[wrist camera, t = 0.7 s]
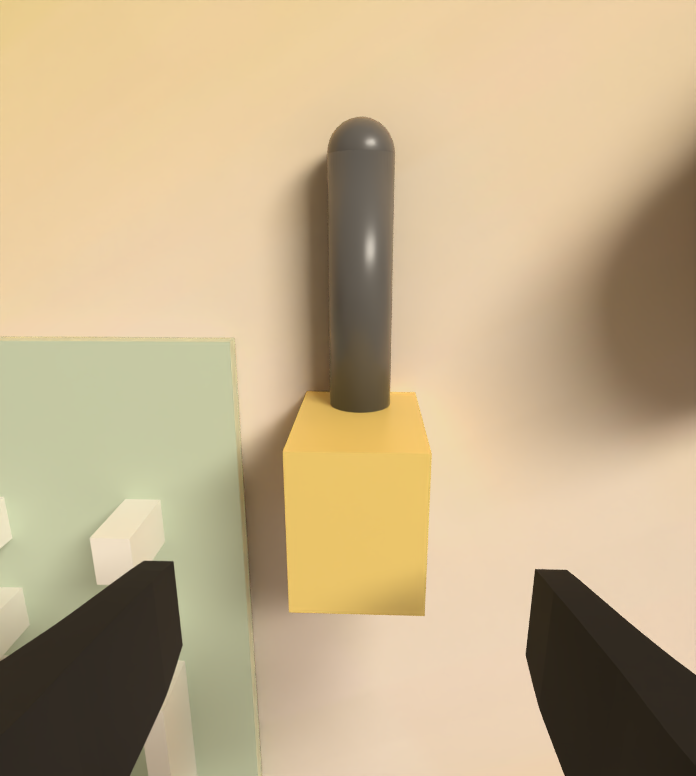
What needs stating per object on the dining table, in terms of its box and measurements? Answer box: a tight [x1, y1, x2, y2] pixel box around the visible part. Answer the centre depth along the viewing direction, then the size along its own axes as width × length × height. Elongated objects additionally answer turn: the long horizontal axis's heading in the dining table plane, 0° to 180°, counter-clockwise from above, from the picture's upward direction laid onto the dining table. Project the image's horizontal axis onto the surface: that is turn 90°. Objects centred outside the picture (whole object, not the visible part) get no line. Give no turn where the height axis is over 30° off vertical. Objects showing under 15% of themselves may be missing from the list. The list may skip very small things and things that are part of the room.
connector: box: [283, 117, 432, 616], centre depth 15 cm, size 12×4×5 cm, turn 0°
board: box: [0, 337, 262, 776], centre depth 19 cm, size 20×12×3 cm, turn 0°
